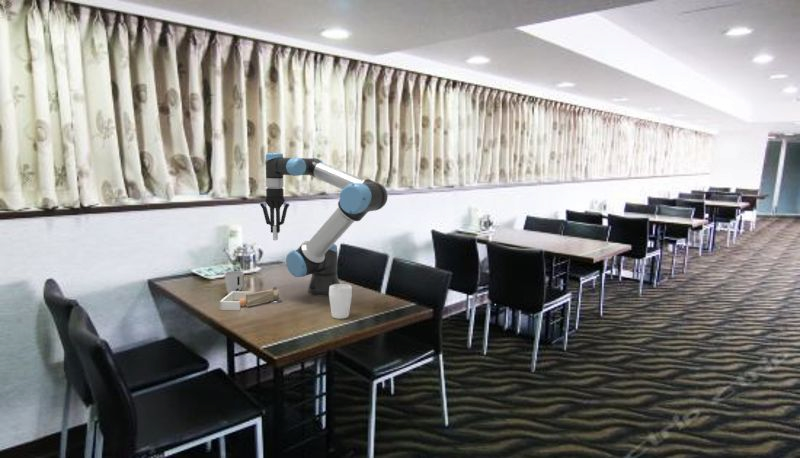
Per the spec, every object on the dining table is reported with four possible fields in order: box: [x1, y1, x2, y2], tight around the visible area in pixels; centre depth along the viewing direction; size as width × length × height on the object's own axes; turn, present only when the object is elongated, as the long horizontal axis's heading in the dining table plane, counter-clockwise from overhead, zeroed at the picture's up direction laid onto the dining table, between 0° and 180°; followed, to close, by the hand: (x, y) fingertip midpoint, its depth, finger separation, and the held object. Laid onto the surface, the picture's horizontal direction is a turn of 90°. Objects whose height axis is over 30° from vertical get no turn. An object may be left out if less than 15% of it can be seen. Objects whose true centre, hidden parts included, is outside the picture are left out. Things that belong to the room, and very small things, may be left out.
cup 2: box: [328, 283, 353, 320], centre depth 182 cm, size 9×9×12 cm
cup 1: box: [224, 270, 245, 295], centre depth 206 cm, size 8×8×10 cm
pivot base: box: [267, 297, 283, 304], centre depth 199 cm, size 6×6×1 cm
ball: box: [237, 298, 247, 308], centre depth 191 cm, size 4×4×4 cm
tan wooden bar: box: [245, 286, 280, 307], centre depth 195 cm, size 3×14×5 cm, turn 136°
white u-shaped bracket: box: [218, 291, 251, 312], centre depth 193 cm, size 8×15×4 cm, turn 1°
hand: (275, 239), depth 210 cm, fingers closed
